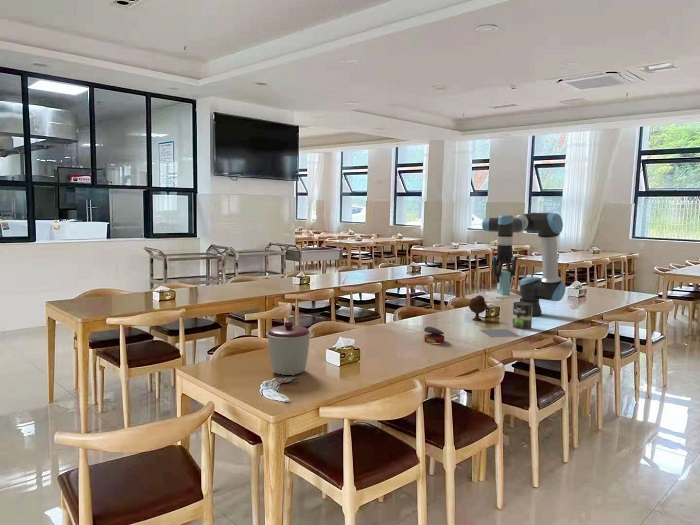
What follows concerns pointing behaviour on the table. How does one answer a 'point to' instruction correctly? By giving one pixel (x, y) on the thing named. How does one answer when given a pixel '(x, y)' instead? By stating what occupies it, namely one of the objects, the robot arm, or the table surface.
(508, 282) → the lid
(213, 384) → the table surface
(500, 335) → the mat
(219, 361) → the table surface
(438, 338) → the canned food
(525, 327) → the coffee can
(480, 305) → the ice cream bowl
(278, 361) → the canister
